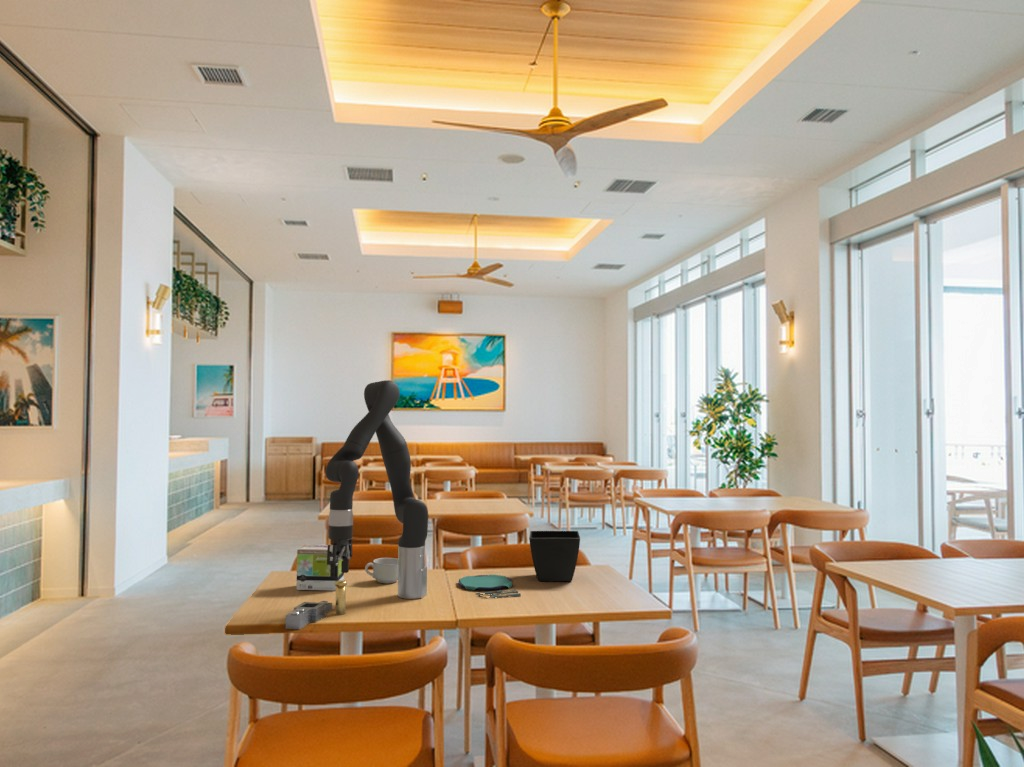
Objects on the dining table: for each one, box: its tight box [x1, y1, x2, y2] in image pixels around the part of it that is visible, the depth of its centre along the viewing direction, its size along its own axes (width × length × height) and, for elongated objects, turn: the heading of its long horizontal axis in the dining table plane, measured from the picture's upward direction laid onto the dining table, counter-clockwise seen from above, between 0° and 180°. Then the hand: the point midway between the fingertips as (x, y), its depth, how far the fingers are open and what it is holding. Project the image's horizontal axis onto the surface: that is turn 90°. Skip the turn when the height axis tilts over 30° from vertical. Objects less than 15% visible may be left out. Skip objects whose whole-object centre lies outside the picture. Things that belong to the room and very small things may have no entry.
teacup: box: [364, 557, 398, 584], centre depth 286 cm, size 14×11×8 cm
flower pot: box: [528, 530, 581, 582], centre depth 293 cm, size 19×19×17 cm
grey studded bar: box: [285, 600, 333, 630], centre depth 236 cm, size 7×23×5 cm, turn 170°
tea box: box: [296, 544, 345, 592], centre depth 277 cm, size 15×10×15 cm, turn 90°
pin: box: [335, 580, 348, 616], centre depth 241 cm, size 4×4×10 cm
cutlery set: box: [458, 574, 521, 599], centre depth 276 cm, size 20×30×2 cm, turn 15°
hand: (339, 575), depth 242 cm, fingers open, 8 cm apart
